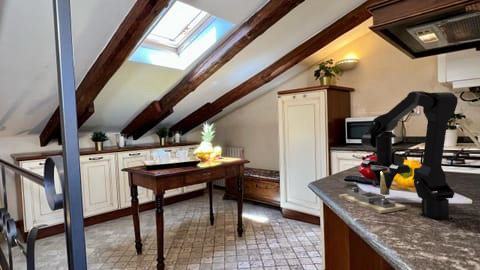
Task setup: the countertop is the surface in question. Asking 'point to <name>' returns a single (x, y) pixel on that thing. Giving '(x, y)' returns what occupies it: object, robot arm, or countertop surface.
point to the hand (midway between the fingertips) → (384, 187)
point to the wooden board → (372, 206)
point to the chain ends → (370, 197)
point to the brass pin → (383, 184)
